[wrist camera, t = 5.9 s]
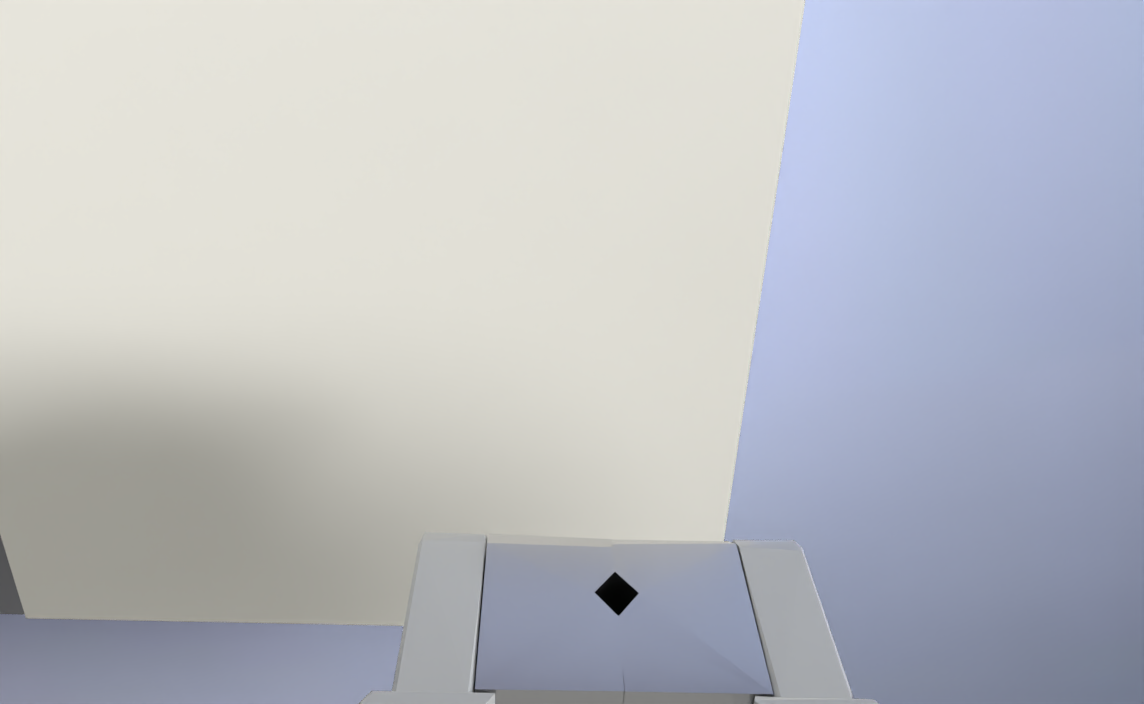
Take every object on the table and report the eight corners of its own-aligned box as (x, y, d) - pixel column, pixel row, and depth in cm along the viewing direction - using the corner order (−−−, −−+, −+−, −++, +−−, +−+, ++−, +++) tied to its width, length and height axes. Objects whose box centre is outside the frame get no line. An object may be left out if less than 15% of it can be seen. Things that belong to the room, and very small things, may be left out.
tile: (821, -106, 10) (-211, -154, 9) (710, 631, 15) (26, 618, 14) (779, -121, 12) (-87, -162, 11) (692, 539, 17) (85, 525, 16)
